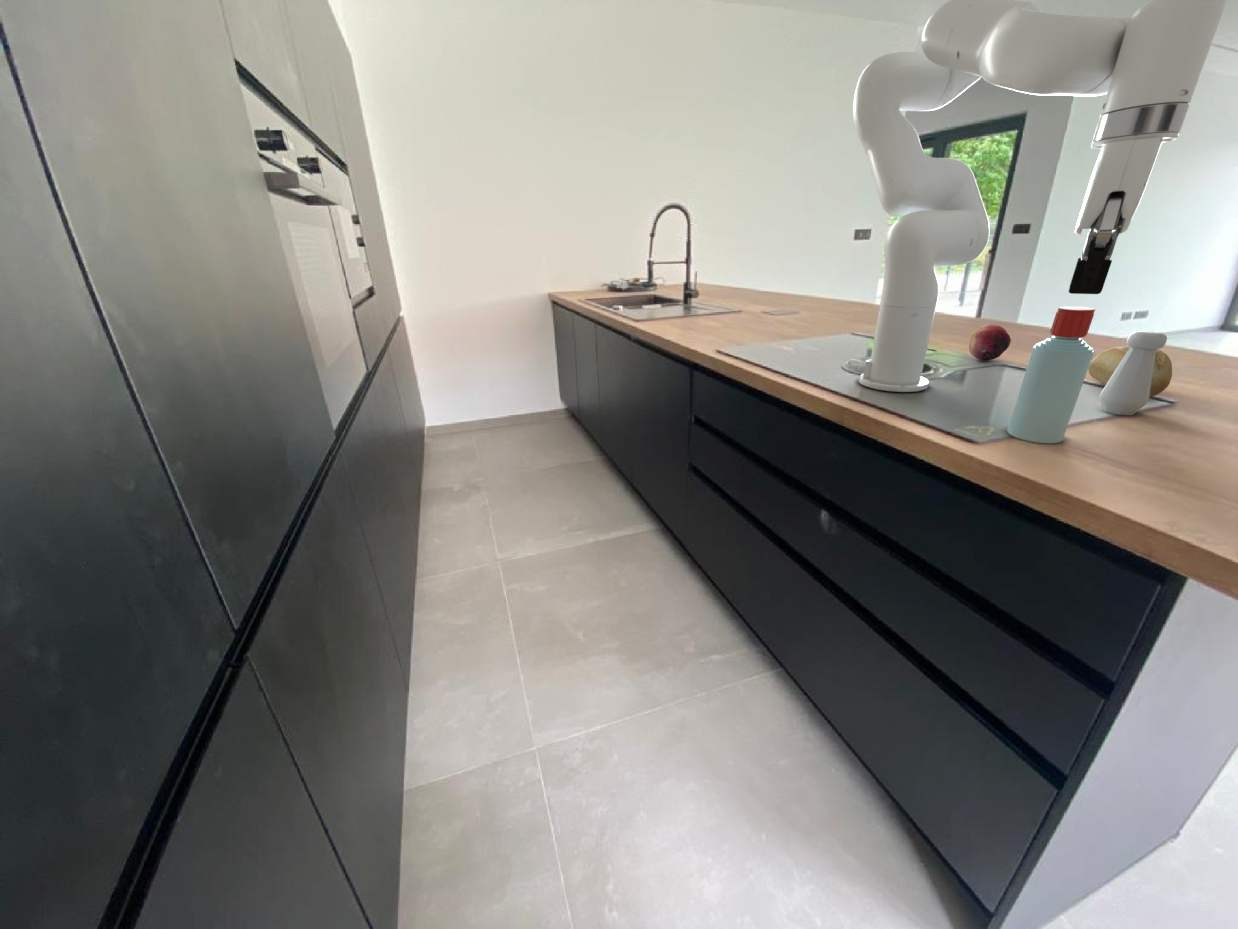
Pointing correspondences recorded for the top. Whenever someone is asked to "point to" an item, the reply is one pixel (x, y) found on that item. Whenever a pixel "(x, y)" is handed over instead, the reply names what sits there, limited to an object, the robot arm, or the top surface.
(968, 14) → the robot arm
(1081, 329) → the cap
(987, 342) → the fruit
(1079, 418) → the top surface
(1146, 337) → the salt shaker
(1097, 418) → the top surface
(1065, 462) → the top surface
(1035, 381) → the bottle
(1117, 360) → the potato
